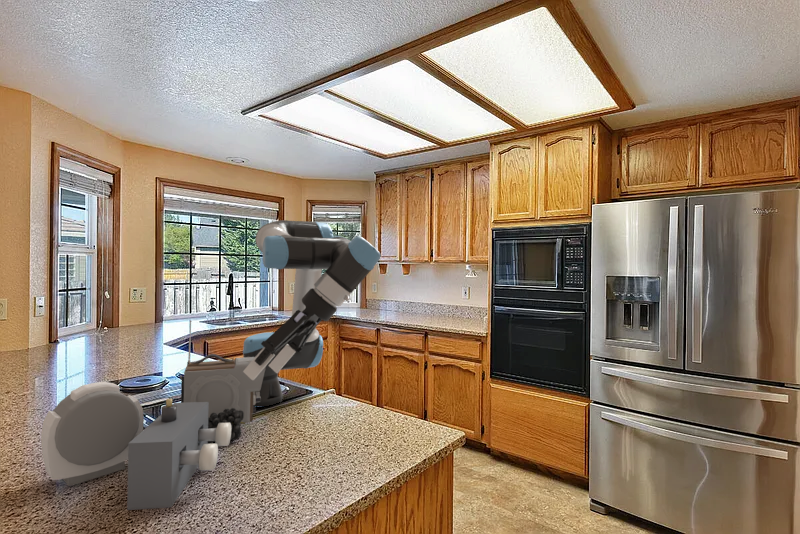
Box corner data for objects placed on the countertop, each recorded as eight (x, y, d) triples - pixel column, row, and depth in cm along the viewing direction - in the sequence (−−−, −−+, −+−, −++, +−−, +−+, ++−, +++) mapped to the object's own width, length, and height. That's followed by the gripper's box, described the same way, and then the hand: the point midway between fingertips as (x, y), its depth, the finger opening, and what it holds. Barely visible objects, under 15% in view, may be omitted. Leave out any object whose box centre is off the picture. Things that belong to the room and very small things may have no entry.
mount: (173, 454, 106) (174, 402, 106) (207, 453, 107) (208, 401, 107) (127, 510, 82) (128, 443, 82) (171, 507, 84) (172, 441, 83)
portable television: (265, 421, 130) (267, 323, 129) (178, 431, 121) (180, 325, 121) (263, 408, 141) (264, 318, 140) (182, 416, 132) (184, 320, 132)
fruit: (183, 412, 110) (244, 406, 115) (189, 412, 118) (247, 406, 122) (181, 448, 108) (244, 441, 112) (187, 445, 116) (246, 439, 120)
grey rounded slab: (132, 454, 106) (133, 373, 106) (145, 465, 100) (146, 380, 100) (38, 482, 92) (40, 389, 92) (48, 496, 86) (50, 397, 86)
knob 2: (181, 464, 92) (182, 440, 92) (217, 463, 93) (218, 439, 93) (172, 476, 87) (173, 451, 87) (211, 474, 88) (211, 449, 88)
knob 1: (199, 441, 104) (199, 420, 104) (231, 440, 105) (231, 419, 105) (192, 450, 99) (192, 428, 99) (225, 449, 100) (226, 427, 100)
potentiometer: (164, 417, 96) (164, 397, 96) (178, 417, 96) (178, 397, 96) (158, 422, 93) (159, 401, 93) (173, 422, 93) (173, 401, 93)
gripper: (324, 305, 81) (249, 392, 80) (348, 310, 106) (292, 377, 104) (295, 280, 82) (221, 365, 81) (326, 291, 107) (270, 357, 105)
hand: (261, 372), depth 92 cm, fingers open, 13 cm apart
